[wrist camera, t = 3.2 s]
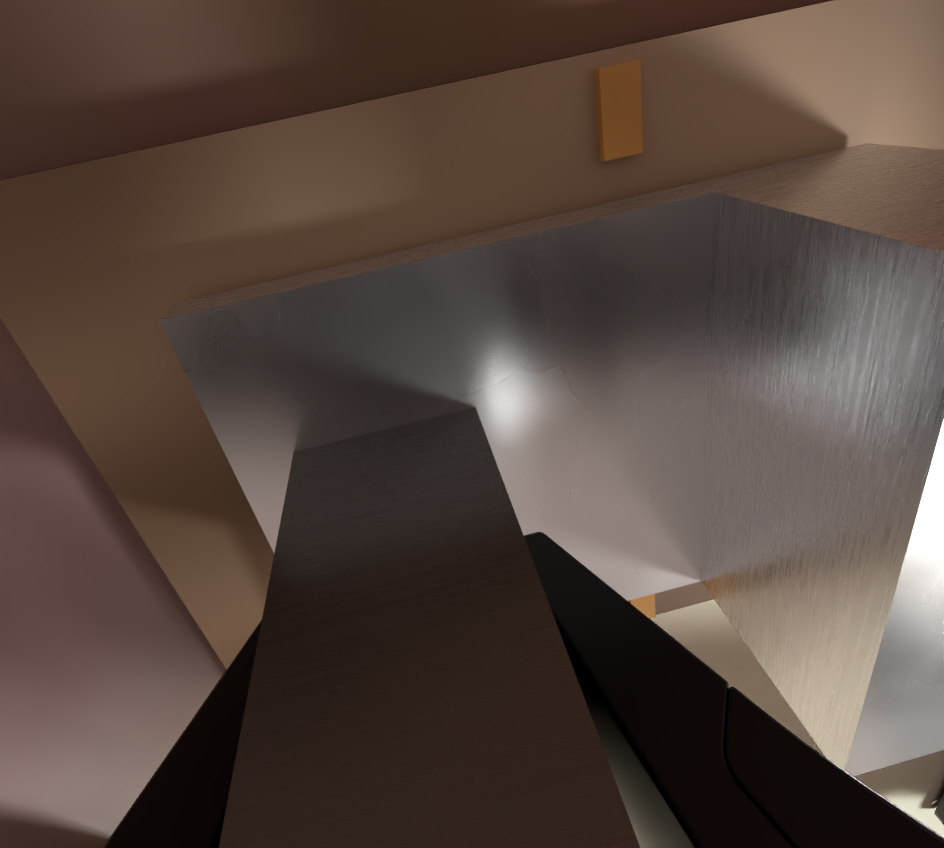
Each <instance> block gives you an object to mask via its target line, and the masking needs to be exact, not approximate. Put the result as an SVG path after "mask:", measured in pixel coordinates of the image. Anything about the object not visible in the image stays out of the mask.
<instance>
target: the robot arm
mask: <svg viewBox="0 0 944 848" xmlns="http://www.w3.org/2000/svg"><path fill="white" fill-rule="evenodd" d="M524 538H525V541H526V543H527V546H528V549H529V551H530V554H531V557H532V559H533V562H534V565H535V567H536V570H537V573H538V575H539V578H540V581H541V583H542V586H543V589H544V591H545V594H546V597H547V599H548V602H549V605H550V607H551V610H552V613H553V615H554V618H555V621H556V624H557V626H558V629H559V632H560V634H561V637H562V640H563V642H564V645H565V648H566V650H567V653H568V656H569V658H570V661H571V664H572V666H573V669H574V672H575V674H576V677H577V680H578V682H579V685H580V688H581V690H582V693H583V696H584V698H585V701H586V704H587V706H588V709H589V712H590V714H591V717H592V720H593V722H594V725H595V728H596V730H597V733H598V736H599V738H600V741H601V744H602V746H603V749H604V752H605V754H606V757H607V760H608V762H609V765H610V768H611V771H612V773H613V776H614V779H615V781H616V784H617V787H618V789H619V792H620V795H621V797H622V800H623V803H624V805H625V808H626V811H627V813H628V816H629V819H630V821H631V824H632V827H633V829H634V832H635V835H636V837H637V840H638V843H639V845H640V848H944V838H943V837H942V836H941V835H939V834H938V833H936V832H935V831H933V830H932V829H930V828H929V827H927V826H926V825H924V824H923V823H921V822H920V821H918V820H917V819H915V818H914V817H912V816H911V815H909V814H908V813H906V812H905V811H903V810H902V809H900V808H899V807H897V806H896V805H894V804H893V803H891V802H890V801H888V800H887V799H885V798H884V797H882V796H881V795H879V794H878V793H877V792H875V791H874V790H872V789H871V788H869V787H868V786H866V785H865V784H863V783H862V782H860V781H859V780H857V779H856V778H854V777H853V776H852V775H850V774H849V773H847V772H846V771H844V770H843V769H842V768H840V767H839V766H837V765H836V764H834V763H833V762H832V761H830V760H829V759H827V758H826V757H824V756H823V755H821V754H820V753H819V752H817V751H816V750H814V749H813V748H811V747H810V746H809V745H807V744H806V743H805V742H803V741H802V740H801V739H799V738H798V737H797V736H795V735H794V734H793V733H792V732H790V731H789V730H788V729H786V728H785V727H784V726H782V725H781V724H780V723H779V722H777V721H776V720H775V719H773V718H772V717H771V716H769V715H768V714H767V713H766V712H764V711H763V710H762V709H760V708H759V707H758V706H757V705H756V704H754V703H753V702H752V701H751V700H749V699H748V698H747V697H746V696H745V695H743V694H742V693H741V692H740V691H738V690H737V689H736V688H735V687H730V688H729V690H728V687H729V684H728V682H727V681H726V680H725V679H723V678H722V677H721V676H720V675H718V674H717V673H716V672H715V671H713V670H712V669H711V668H710V667H709V666H707V665H706V664H705V663H704V662H702V661H701V660H700V659H699V658H697V657H696V656H695V655H694V654H692V653H691V652H690V651H689V650H688V649H686V648H685V647H684V646H683V645H681V644H680V643H679V642H678V641H676V640H675V639H674V638H673V637H672V636H670V635H669V634H668V633H667V632H665V631H664V630H663V629H662V628H660V627H659V626H658V625H657V624H655V623H654V622H653V621H652V620H651V619H649V618H648V617H647V616H646V615H644V614H643V613H642V612H641V611H639V610H638V609H637V608H636V607H635V606H633V605H632V604H631V603H630V602H628V601H627V600H626V599H625V598H623V597H622V596H621V595H620V594H618V593H617V592H616V591H615V590H614V589H612V588H611V587H610V586H609V585H607V584H606V583H605V582H604V581H602V580H601V579H600V578H599V577H598V576H596V575H595V574H594V573H593V572H591V571H590V570H589V569H588V568H586V567H585V566H584V565H583V564H582V563H580V562H579V561H578V560H577V559H575V558H574V557H573V556H572V555H570V554H569V553H568V552H567V551H565V550H564V549H563V548H562V547H561V546H559V545H558V544H557V543H556V542H554V541H553V540H552V539H551V538H549V537H548V536H547V535H546V534H544V533H543V532H535V533H531V534H527V535H524ZM261 622H262V620H261V621H260V623H259V624H258V625H257V627H256V628H255V630H254V631H253V633H252V634H251V636H250V637H249V638H248V640H247V641H246V643H245V644H244V646H243V647H242V648H241V650H240V651H239V653H238V654H237V656H236V657H235V658H234V660H233V661H232V663H231V664H230V666H229V667H228V669H227V670H226V671H225V673H224V674H223V676H222V677H221V679H220V680H219V681H218V683H217V684H216V686H215V687H214V689H213V690H212V692H211V693H210V694H209V696H208V697H207V699H206V700H205V702H204V703H203V704H202V706H201V707H200V709H199V710H198V712H197V713H196V715H195V716H194V717H193V719H192V720H191V722H190V723H189V725H188V726H187V727H186V729H185V730H184V732H183V733H182V735H181V736H180V738H179V739H178V740H177V742H176V743H175V745H174V746H173V748H172V749H171V750H170V752H169V753H168V755H167V756H166V758H165V759H164V761H163V762H162V763H161V765H160V766H159V768H158V769H157V771H156V772H155V773H154V775H153V776H152V778H151V779H150V781H149V782H148V784H147V785H146V786H145V788H144V789H143V791H142V792H141V794H140V795H139V796H138V798H137V799H136V801H135V802H134V804H133V805H132V807H131V808H130V809H129V811H128V812H127V814H126V815H125V817H124V818H123V819H122V821H121V822H120V824H119V825H118V827H117V828H116V830H115V831H114V832H113V834H112V835H111V837H110V838H109V840H108V841H107V842H106V844H105V845H104V847H103V848H219V844H220V838H221V833H222V828H223V823H224V817H225V812H226V807H227V801H228V796H229V791H230V786H231V780H232V775H233V770H234V764H235V759H236V754H237V749H238V743H239V738H240V733H241V727H242V722H243V717H244V712H245V706H246V701H247V696H248V690H249V685H250V680H251V675H252V669H253V664H254V659H255V653H256V648H257V643H258V638H259V632H260V627H261ZM935 815H936V816H937V817H938V818H939V820H940V821H941V822H942V823H943V824H944V793H943V795H942V797H941V799H940V802H939V804H938V806H937V808H936V810H935Z"/></svg>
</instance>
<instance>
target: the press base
mask: <svg viewBox="0 0 944 848" xmlns="http://www.w3.org/2000/svg"><path fill="white" fill-rule="evenodd" d="M865 143H871V144H882V145H894V146H905V147H917V148H928V149H940V150H944V0H831V1H827V2H822V3H818V4H813V5H808V6H804V7H799V8H795V9H790V10H785V11H781V12H776V13H771V14H767V15H762V16H758V17H753V18H748V19H744V20H739V21H734V22H730V23H725V24H721V25H716V26H711V27H707V28H702V29H698V30H693V31H688V32H684V33H679V34H674V35H670V36H665V37H661V38H656V39H651V40H647V41H642V42H637V43H633V44H628V45H624V46H619V47H614V48H610V49H605V50H600V51H596V52H591V53H587V54H582V55H577V56H573V57H568V58H564V59H559V60H554V61H550V62H545V63H540V64H536V65H531V66H527V67H522V68H517V69H513V70H508V71H503V72H499V73H494V74H490V75H485V76H480V77H476V78H471V79H467V80H462V81H457V82H453V83H448V84H443V85H439V86H434V87H430V88H425V89H420V90H416V91H411V92H406V93H402V94H397V95H393V96H388V97H383V98H379V99H374V100H370V101H365V102H360V103H356V104H351V105H346V106H342V107H337V108H333V109H328V110H323V111H319V112H314V113H309V114H305V115H300V116H296V117H291V118H286V119H282V120H277V121H273V122H268V123H263V124H259V125H254V126H249V127H245V128H240V129H236V130H231V131H226V132H222V133H217V134H212V135H208V136H203V137H199V138H194V139H189V140H185V141H180V142H176V143H171V144H166V145H162V146H157V147H152V148H148V149H143V150H139V151H134V152H129V153H125V154H120V155H115V156H111V157H106V158H102V159H97V160H92V161H88V162H83V163H79V164H74V165H69V166H65V167H60V168H55V169H51V170H46V171H42V172H37V173H32V174H28V175H23V176H18V177H14V178H9V179H5V180H0V319H1V320H2V322H3V323H4V325H5V327H6V328H7V330H8V331H9V333H10V334H11V336H12V337H13V339H14V341H15V342H16V344H17V345H18V347H19V348H20V350H21V351H22V353H23V355H24V356H25V358H26V359H27V361H28V362H29V364H30V365H31V367H32V368H33V370H34V372H35V373H36V375H37V376H38V378H39V379H40V381H41V382H42V384H43V386H44V387H45V389H46V390H47V392H48V393H49V395H50V396H51V398H52V400H53V401H54V403H55V404H56V406H57V407H58V409H59V410H60V412H61V413H62V415H63V417H64V418H65V420H66V421H67V423H68V424H69V426H70V427H71V429H72V431H73V432H74V434H75V435H76V437H77V438H78V440H79V441H80V443H81V445H82V446H83V448H84V449H85V451H86V452H87V454H88V455H89V457H90V458H91V460H92V462H93V463H94V465H95V466H96V468H97V469H98V471H99V472H100V474H101V476H102V477H103V479H104V480H105V482H106V483H107V485H108V486H109V488H110V490H111V491H112V493H113V494H114V496H115V497H116V499H117V500H118V502H119V503H120V505H121V507H122V508H123V510H124V511H125V513H126V514H127V516H128V517H129V519H130V521H131V522H132V524H133V525H134V527H135V528H136V530H137V531H138V533H139V535H140V536H141V538H142V539H143V541H144V542H145V544H146V545H147V547H148V548H149V550H150V552H151V553H152V555H153V556H154V558H155V559H156V561H157V562H158V564H159V566H160V567H161V569H162V570H163V572H164V573H165V575H166V576H167V578H168V580H169V581H170V583H171V584H172V586H173V587H174V589H175V590H176V592H177V594H178V595H179V597H180V598H181V600H182V601H183V603H184V604H185V606H186V607H187V609H188V611H189V612H190V614H191V615H192V617H193V618H194V620H195V621H196V623H197V625H198V626H199V628H200V629H201V631H202V632H203V634H204V635H205V637H206V639H207V640H208V642H209V643H210V645H211V646H212V648H213V649H214V651H215V652H216V654H217V656H218V657H219V659H220V660H221V662H222V663H223V665H224V666H225V668H226V670H227V669H228V667H229V666H230V664H231V663H232V661H233V660H234V658H235V657H236V656H237V654H238V653H239V651H240V650H241V648H242V647H243V646H244V644H245V643H246V641H247V640H248V638H249V637H250V636H251V634H252V633H253V631H254V630H255V628H256V627H257V625H258V624H259V623H260V621H261V620H262V616H263V611H264V606H265V601H266V595H267V590H268V585H269V579H270V574H271V569H272V564H273V558H274V552H273V550H272V548H271V546H270V544H269V542H268V540H267V538H266V536H265V534H264V532H263V530H262V528H261V526H260V524H259V522H258V520H257V518H256V516H255V514H254V512H253V510H252V508H251V506H250V504H249V502H248V500H247V498H246V496H245V494H244V492H243V490H242V487H241V485H240V483H239V481H238V479H237V477H236V475H235V473H234V471H233V469H232V467H231V465H230V463H229V461H228V459H227V457H226V455H225V453H224V451H223V449H222V447H221V445H220V443H219V441H218V439H217V437H216V435H215V433H214V431H213V429H212V427H211V425H210V423H209V421H208V419H207V417H206V415H205V413H204V411H203V409H202V406H201V404H200V402H199V400H198V398H197V396H196V394H195V392H194V390H193V388H192V386H191V384H190V382H189V380H188V378H187V376H186V374H185V372H184V370H183V368H182V366H181V364H180V362H179V360H178V358H177V356H176V354H175V352H174V350H173V348H172V346H171V344H170V342H169V340H168V338H167V336H166V334H165V332H164V330H163V328H162V326H161V323H160V321H159V320H160V319H161V318H162V317H163V316H164V315H165V314H166V313H167V311H168V310H169V309H170V308H171V307H172V306H173V305H174V304H175V303H177V302H181V301H185V300H190V299H194V298H198V297H203V296H207V295H211V294H216V293H220V292H224V291H229V290H233V289H237V288H242V287H246V286H250V285H255V284H259V283H263V282H268V281H272V280H276V279H281V278H285V277H289V276H294V275H298V274H302V273H307V272H311V271H315V270H320V269H324V268H328V267H332V266H337V265H341V264H345V263H350V262H354V261H358V260H363V259H367V258H371V257H376V256H380V255H384V254H389V253H393V252H397V251H402V250H406V249H410V248H415V247H419V246H423V245H428V244H432V243H436V242H441V241H445V240H449V239H454V238H458V237H462V236H467V235H471V234H475V233H480V232H484V231H488V230H493V229H497V228H501V227H506V226H510V225H514V224H519V223H523V222H527V221H532V220H536V219H540V218H545V217H549V216H553V215H558V214H562V213H566V212H570V211H575V210H579V209H583V208H588V207H592V206H596V205H601V204H605V203H609V202H614V201H618V200H622V199H627V198H631V197H635V196H640V195H644V194H648V193H653V192H657V191H661V190H666V189H670V188H674V187H679V186H683V185H687V184H692V183H696V182H700V181H705V180H709V179H713V178H718V177H722V176H726V175H731V174H735V173H739V172H744V171H748V170H752V169H757V168H761V167H765V166H770V165H774V164H778V163H783V162H787V161H791V160H796V159H800V158H804V157H808V156H813V155H817V154H821V153H826V152H830V151H834V150H839V149H843V148H847V147H852V146H856V145H860V144H865ZM712 599H714V598H713V597H712V596H711V594H710V593H709V591H708V590H707V589H706V587H705V586H704V584H703V583H702V581H700V582H696V583H692V584H689V585H685V586H681V587H678V588H674V589H670V590H666V591H663V592H659V593H655V594H652V595H648V596H644V597H640V598H637V599H633V600H629V601H628V602H630V603H631V604H632V605H633V606H635V607H636V608H637V609H638V610H639V611H641V612H642V613H643V614H644V615H646V616H647V617H648V618H652V617H655V615H657V614H661V613H664V612H668V611H672V610H675V609H679V608H683V607H686V606H690V605H694V604H697V603H701V602H705V601H708V600H712Z"/></svg>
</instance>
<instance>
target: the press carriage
mask: <svg viewBox="0 0 944 848" xmlns="http://www.w3.org/2000/svg"><path fill="white" fill-rule="evenodd" d="M159 321H160V323H161V326H162V328H163V330H164V332H165V334H166V336H167V338H168V340H169V342H170V344H171V346H172V348H173V350H174V352H175V354H176V356H177V358H178V360H179V362H180V364H181V366H182V368H183V370H184V372H185V374H186V376H187V378H188V380H189V382H190V384H191V386H192V388H193V390H194V392H195V394H196V396H197V398H198V400H199V402H200V404H201V406H202V409H203V411H204V413H205V415H206V417H207V419H208V421H209V423H210V425H211V427H212V429H213V431H214V433H215V435H216V437H217V439H218V441H219V443H220V445H221V447H222V449H223V451H224V453H225V455H226V457H227V459H228V461H229V463H230V465H231V467H232V469H233V471H234V473H235V475H236V477H237V479H238V481H239V483H240V485H241V487H242V490H243V492H244V494H245V496H246V498H247V500H248V502H249V504H250V506H251V508H252V510H253V512H254V514H255V516H256V518H257V520H258V522H259V524H260V526H261V528H262V530H263V532H264V534H265V536H266V538H267V540H268V542H269V544H270V546H271V548H272V550H273V552H274V558H273V564H272V569H271V574H270V579H269V585H268V590H267V595H266V601H265V606H264V611H263V616H262V622H261V627H260V632H259V638H258V643H257V648H256V653H255V659H254V664H253V669H252V675H251V680H250V685H249V690H248V696H247V701H246V706H245V712H244V717H243V722H242V727H241V733H240V738H239V743H238V749H237V754H236V759H235V764H234V770H233V775H232V780H231V786H230V791H229V796H228V801H227V807H226V812H225V817H224V823H223V828H222V833H221V838H220V844H219V848H640V845H639V843H638V840H637V837H636V835H635V832H634V829H633V827H632V824H631V821H630V819H629V816H628V813H627V811H626V808H625V805H624V803H623V800H622V797H621V795H620V792H619V789H618V787H617V784H616V781H615V779H614V776H613V773H612V771H611V768H610V765H609V762H608V760H607V757H606V754H605V752H604V749H603V746H602V744H601V741H600V738H599V736H598V733H597V730H596V728H595V725H594V722H593V720H592V717H591V714H590V712H589V709H588V706H587V704H586V701H585V698H584V696H583V693H582V690H581V688H580V685H579V682H578V680H577V677H576V674H575V672H574V669H573V666H572V664H571V661H570V658H569V656H568V653H567V650H566V648H565V645H564V642H563V640H562V637H561V634H560V632H559V629H558V626H557V624H556V621H555V618H554V615H553V613H552V610H551V607H550V605H549V602H548V599H547V597H546V594H545V591H544V589H543V586H542V583H541V581H540V578H539V575H538V573H537V570H536V567H535V565H534V562H533V559H532V557H531V554H530V551H529V549H528V546H527V543H526V541H525V538H524V535H527V534H531V533H535V532H543V533H544V534H546V535H547V536H548V537H549V538H551V539H552V540H553V541H554V542H556V543H557V544H558V545H559V546H561V547H562V548H563V549H564V550H565V551H567V552H568V553H569V554H570V555H572V556H573V557H574V558H575V559H577V560H578V561H579V562H580V563H582V564H583V565H584V566H585V567H586V568H588V569H589V570H590V571H591V572H593V573H594V574H595V575H596V576H598V577H599V578H600V579H601V580H602V581H604V582H605V583H606V584H607V585H609V586H610V587H611V588H612V589H614V590H615V591H616V592H617V593H618V594H620V595H621V596H622V597H623V598H625V599H626V600H627V601H629V600H633V599H637V598H640V597H644V596H648V595H652V594H655V593H659V592H663V591H666V590H670V589H674V588H678V587H681V586H685V585H689V584H692V583H696V582H700V581H702V583H703V584H704V586H705V587H706V589H707V590H708V591H709V593H710V594H711V596H712V597H713V598H714V600H715V601H716V603H717V604H718V605H719V607H720V608H721V610H722V611H723V613H724V614H725V615H726V617H727V618H728V620H729V621H730V622H731V624H732V625H733V627H734V628H735V630H736V631H737V632H738V634H739V635H740V637H741V638H742V639H743V641H744V642H745V644H746V645H747V646H748V648H749V649H750V651H751V652H752V654H753V655H754V656H755V658H756V659H757V661H758V662H759V663H760V665H761V666H762V668H763V669H764V671H765V672H766V673H767V675H768V676H769V678H770V679H771V680H772V682H773V683H774V685H775V686H776V687H777V689H778V690H779V692H780V693H781V695H782V696H783V697H784V699H785V700H786V702H787V703H788V704H789V706H790V707H791V709H792V710H793V712H794V713H795V714H796V716H797V717H798V719H799V720H800V721H801V723H802V724H803V726H804V727H805V728H806V730H807V731H808V733H809V734H810V736H811V737H812V738H813V740H814V741H815V743H816V744H817V745H818V747H819V748H820V750H821V751H822V752H823V754H824V755H825V757H826V758H827V759H829V760H830V761H832V762H833V763H834V764H836V765H837V766H839V767H840V768H842V769H843V770H844V771H846V772H847V773H849V774H850V775H852V776H853V777H854V776H857V775H860V774H864V773H867V772H871V771H874V770H877V769H881V768H884V767H888V766H891V765H895V764H898V763H901V762H905V761H908V760H912V759H915V758H919V757H922V756H925V755H929V754H932V753H936V752H939V751H942V750H944V150H940V149H928V148H917V147H905V146H894V145H882V144H871V143H865V144H860V145H856V146H852V147H847V148H843V149H839V150H834V151H830V152H826V153H821V154H817V155H813V156H808V157H804V158H800V159H796V160H791V161H787V162H783V163H778V164H774V165H770V166H765V167H761V168H757V169H752V170H748V171H744V172H739V173H735V174H731V175H726V176H722V177H718V178H713V179H709V180H705V181H700V182H696V183H692V184H687V185H683V186H679V187H674V188H670V189H666V190H661V191H657V192H653V193H648V194H644V195H640V196H635V197H631V198H627V199H622V200H618V201H614V202H609V203H605V204H601V205H596V206H592V207H588V208H583V209H579V210H575V211H570V212H566V213H562V214H558V215H553V216H549V217H545V218H540V219H536V220H532V221H527V222H523V223H519V224H514V225H510V226H506V227H501V228H497V229H493V230H488V231H484V232H480V233H475V234H471V235H467V236H462V237H458V238H454V239H449V240H445V241H441V242H436V243H432V244H428V245H423V246H419V247H415V248H410V249H406V250H402V251H397V252H393V253H389V254H384V255H380V256H376V257H371V258H367V259H363V260H358V261H354V262H350V263H345V264H341V265H337V266H332V267H328V268H324V269H320V270H315V271H311V272H307V273H302V274H298V275H294V276H289V277H285V278H281V279H276V280H272V281H268V282H263V283H259V284H255V285H250V286H246V287H242V288H237V289H233V290H229V291H224V292H220V293H216V294H211V295H207V296H203V297H198V298H194V299H190V300H185V301H181V302H177V303H175V304H174V305H173V306H172V307H171V308H170V309H169V310H168V311H167V313H166V314H165V315H164V316H163V317H162V318H161V319H160V320H159Z"/></svg>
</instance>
